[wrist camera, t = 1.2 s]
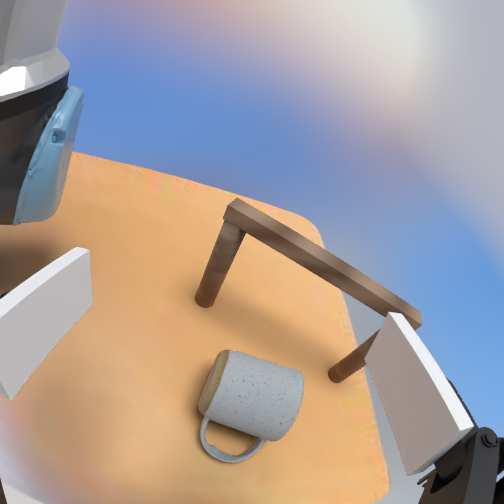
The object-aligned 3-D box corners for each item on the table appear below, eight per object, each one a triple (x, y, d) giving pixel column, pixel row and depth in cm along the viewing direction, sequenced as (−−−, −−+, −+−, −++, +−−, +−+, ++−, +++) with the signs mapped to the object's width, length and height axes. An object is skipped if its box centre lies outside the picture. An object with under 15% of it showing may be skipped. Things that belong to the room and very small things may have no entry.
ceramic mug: (209, 362, 28) (230, 328, 23) (276, 386, 28) (311, 359, 24) (178, 448, 20) (191, 441, 15) (257, 470, 20) (296, 467, 15)
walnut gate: (191, 300, 33) (227, 205, 24) (201, 289, 35) (238, 197, 26) (340, 385, 31) (421, 326, 22) (344, 371, 33) (420, 310, 24)
